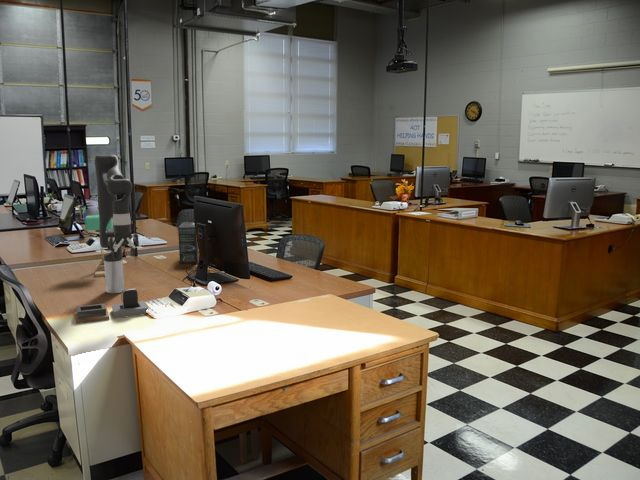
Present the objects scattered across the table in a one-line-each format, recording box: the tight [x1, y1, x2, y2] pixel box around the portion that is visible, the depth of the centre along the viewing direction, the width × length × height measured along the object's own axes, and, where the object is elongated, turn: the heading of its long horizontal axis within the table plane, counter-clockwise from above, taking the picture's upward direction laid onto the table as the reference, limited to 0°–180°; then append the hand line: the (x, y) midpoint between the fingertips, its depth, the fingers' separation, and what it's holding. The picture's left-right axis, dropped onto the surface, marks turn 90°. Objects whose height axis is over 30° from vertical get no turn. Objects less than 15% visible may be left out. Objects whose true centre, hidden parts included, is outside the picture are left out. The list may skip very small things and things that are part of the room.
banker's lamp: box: [84, 214, 114, 278], centre depth 339 cm, size 16×21×35 cm
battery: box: [121, 287, 139, 309], centre depth 266 cm, size 7×4×11 cm, turn 124°
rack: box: [74, 303, 110, 325], centre depth 260 cm, size 14×14×4 cm
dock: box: [111, 300, 149, 319], centre depth 267 cm, size 12×15×3 cm
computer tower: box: [177, 221, 199, 264], centre depth 375 cm, size 22×12×26 cm, turn 6°
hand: (124, 257), depth 259 cm, fingers open, 8 cm apart
